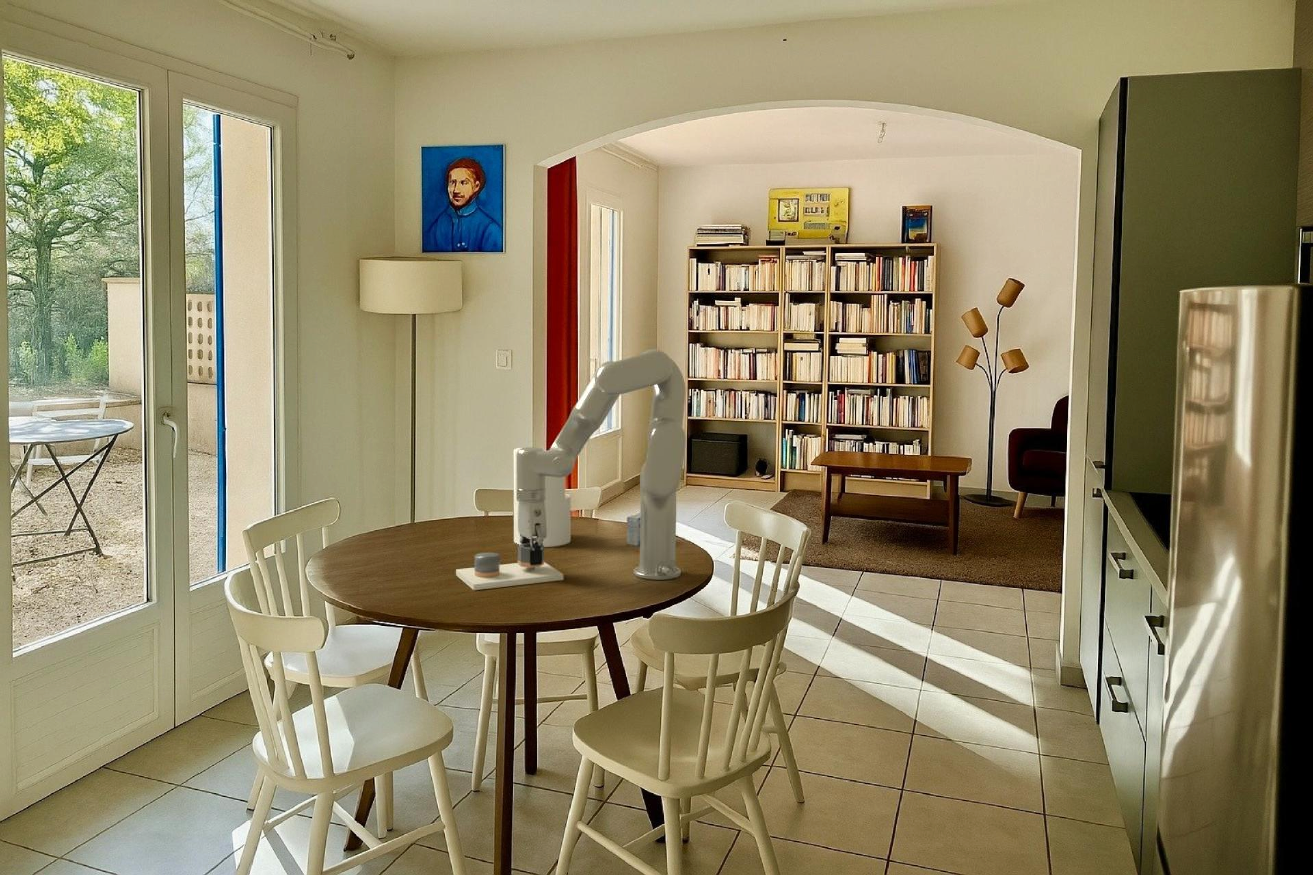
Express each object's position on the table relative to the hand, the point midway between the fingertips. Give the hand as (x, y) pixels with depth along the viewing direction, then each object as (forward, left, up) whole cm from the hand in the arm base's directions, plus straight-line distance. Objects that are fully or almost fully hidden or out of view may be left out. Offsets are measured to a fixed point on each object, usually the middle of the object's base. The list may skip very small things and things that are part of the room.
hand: (531, 560), depth 260 cm
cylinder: (+37, -17, -4) cm, 41 cm away
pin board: (0, +6, -4) cm, 7 cm away
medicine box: (+22, -43, -4) cm, 48 cm away
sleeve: (0, 0, -1) cm, 1 cm away
